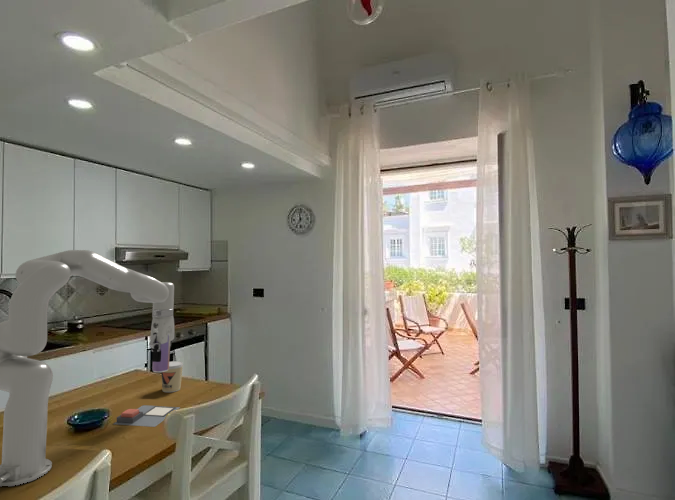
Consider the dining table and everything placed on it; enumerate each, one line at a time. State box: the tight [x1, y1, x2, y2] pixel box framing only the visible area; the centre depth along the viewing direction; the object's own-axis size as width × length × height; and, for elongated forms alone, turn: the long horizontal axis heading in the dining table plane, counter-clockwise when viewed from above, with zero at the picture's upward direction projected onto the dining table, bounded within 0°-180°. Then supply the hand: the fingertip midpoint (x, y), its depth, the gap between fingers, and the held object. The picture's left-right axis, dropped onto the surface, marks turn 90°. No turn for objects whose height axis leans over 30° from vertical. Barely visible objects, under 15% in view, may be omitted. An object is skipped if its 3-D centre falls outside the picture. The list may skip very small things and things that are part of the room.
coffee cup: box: [161, 360, 184, 393], centre depth 176 cm, size 9×9×12 cm
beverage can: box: [151, 334, 171, 373], centre depth 149 cm, size 6×6×15 cm
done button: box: [120, 408, 139, 418], centre depth 140 cm, size 4×4×2 cm
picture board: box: [113, 405, 181, 428], centre depth 144 cm, size 18×16×3 cm
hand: (161, 358), depth 148 cm, fingers closed on beverage can, 6 cm apart
